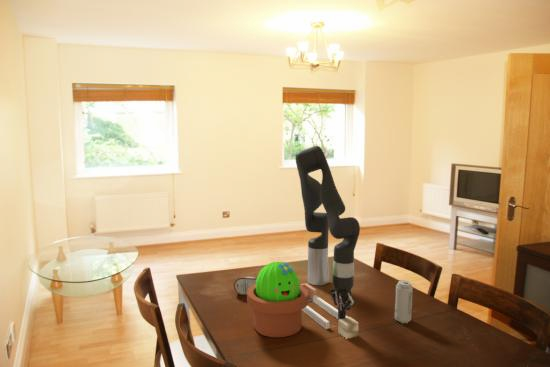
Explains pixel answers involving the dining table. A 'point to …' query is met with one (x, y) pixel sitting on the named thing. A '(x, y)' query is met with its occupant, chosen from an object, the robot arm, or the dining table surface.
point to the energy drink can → (403, 301)
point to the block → (348, 327)
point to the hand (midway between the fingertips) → (341, 319)
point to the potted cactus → (277, 300)
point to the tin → (244, 283)
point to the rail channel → (322, 304)
